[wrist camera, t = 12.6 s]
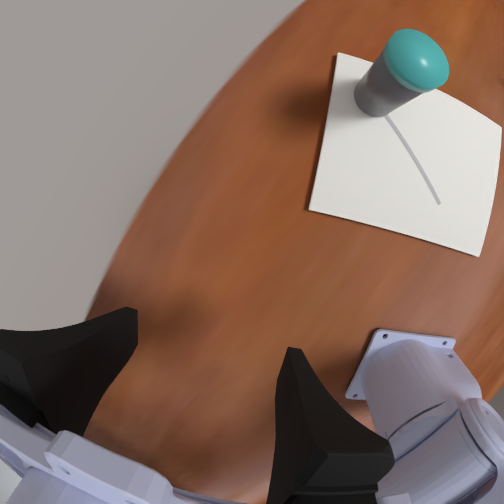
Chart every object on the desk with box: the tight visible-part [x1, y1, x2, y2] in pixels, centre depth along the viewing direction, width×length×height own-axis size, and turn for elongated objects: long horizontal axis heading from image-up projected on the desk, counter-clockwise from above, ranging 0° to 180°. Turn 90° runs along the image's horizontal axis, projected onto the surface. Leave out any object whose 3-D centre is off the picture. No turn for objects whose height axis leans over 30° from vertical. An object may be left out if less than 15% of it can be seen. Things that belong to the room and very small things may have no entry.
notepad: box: [308, 52, 502, 257], centre depth 17 cm, size 16×12×1 cm
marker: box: [354, 29, 449, 117], centre depth 12 cm, size 3×3×8 cm
